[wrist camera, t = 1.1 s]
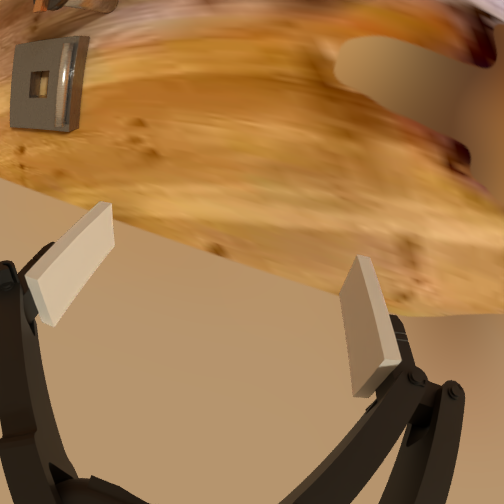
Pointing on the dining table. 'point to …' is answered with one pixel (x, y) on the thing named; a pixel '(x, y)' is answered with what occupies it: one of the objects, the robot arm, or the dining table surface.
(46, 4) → the key
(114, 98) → the dining table surface
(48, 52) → the grey flat square block
